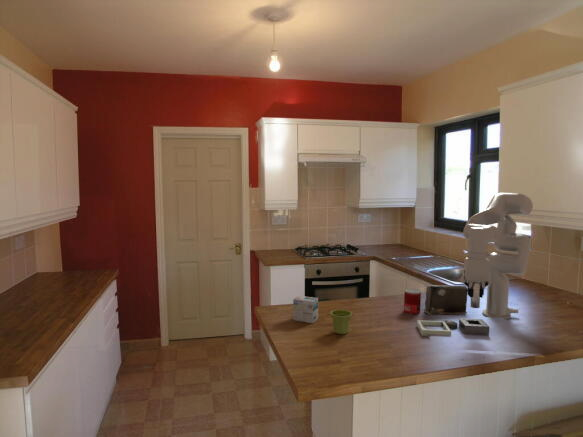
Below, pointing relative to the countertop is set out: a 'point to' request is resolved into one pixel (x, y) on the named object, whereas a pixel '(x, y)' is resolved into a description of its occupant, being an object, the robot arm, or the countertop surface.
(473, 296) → the pin
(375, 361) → the countertop surface
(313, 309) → the light bulb box
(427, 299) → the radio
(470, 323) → the block
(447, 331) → the parts tray
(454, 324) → the wheel
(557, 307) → the countertop surface
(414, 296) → the canned food
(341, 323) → the plant pot
